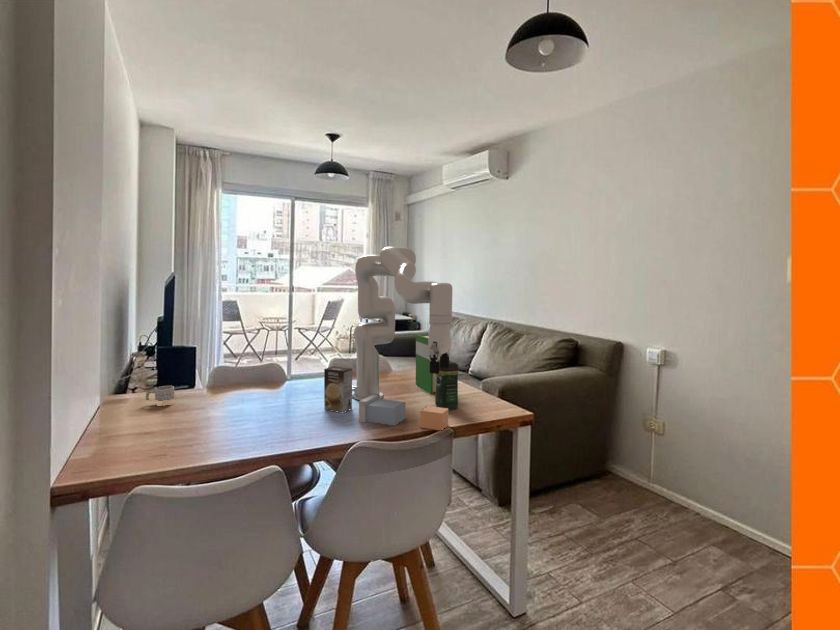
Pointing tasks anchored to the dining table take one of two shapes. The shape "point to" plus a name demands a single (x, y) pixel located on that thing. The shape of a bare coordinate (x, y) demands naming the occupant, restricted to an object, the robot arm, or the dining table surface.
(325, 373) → the coffee box
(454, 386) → the coffee jar
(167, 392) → the mug
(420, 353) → the hardback book
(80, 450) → the dining table surface
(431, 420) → the peach rectangular block
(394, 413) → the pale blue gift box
